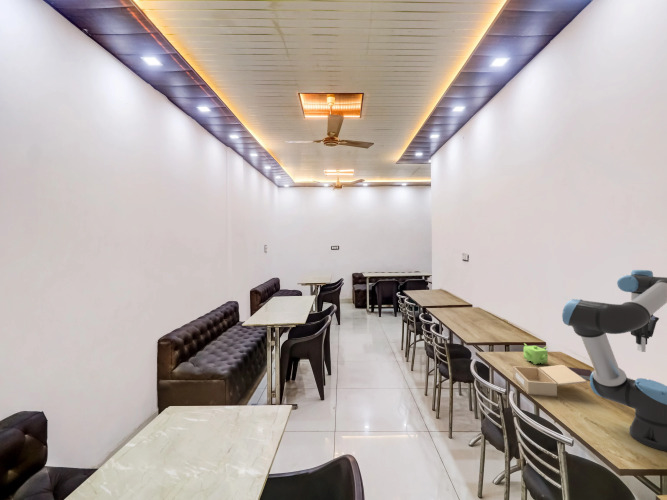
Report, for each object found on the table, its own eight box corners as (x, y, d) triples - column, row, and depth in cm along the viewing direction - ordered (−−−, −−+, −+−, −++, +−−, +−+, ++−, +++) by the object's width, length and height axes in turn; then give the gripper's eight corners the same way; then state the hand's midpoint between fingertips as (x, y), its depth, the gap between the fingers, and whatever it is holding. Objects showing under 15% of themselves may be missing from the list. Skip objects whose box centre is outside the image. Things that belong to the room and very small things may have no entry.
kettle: (523, 357, 228) (523, 341, 228) (547, 360, 221) (547, 344, 220) (522, 363, 216) (522, 347, 215) (548, 367, 208) (548, 350, 208)
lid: (558, 383, 168) (559, 385, 168) (586, 381, 166) (587, 382, 166) (538, 367, 191) (539, 368, 191) (563, 364, 189) (563, 366, 189)
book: (553, 369, 207) (553, 364, 207) (590, 373, 199) (590, 368, 199) (557, 376, 196) (557, 371, 196) (596, 382, 188) (596, 376, 187)
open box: (557, 396, 169) (557, 383, 169) (528, 394, 172) (528, 381, 171) (538, 379, 191) (538, 367, 191) (512, 377, 193) (512, 366, 193)
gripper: (651, 301, 155) (650, 349, 156) (620, 300, 158) (620, 347, 158) (664, 303, 148) (663, 354, 148) (632, 303, 150) (631, 352, 151)
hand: (641, 350), depth 153 cm, fingers closed
